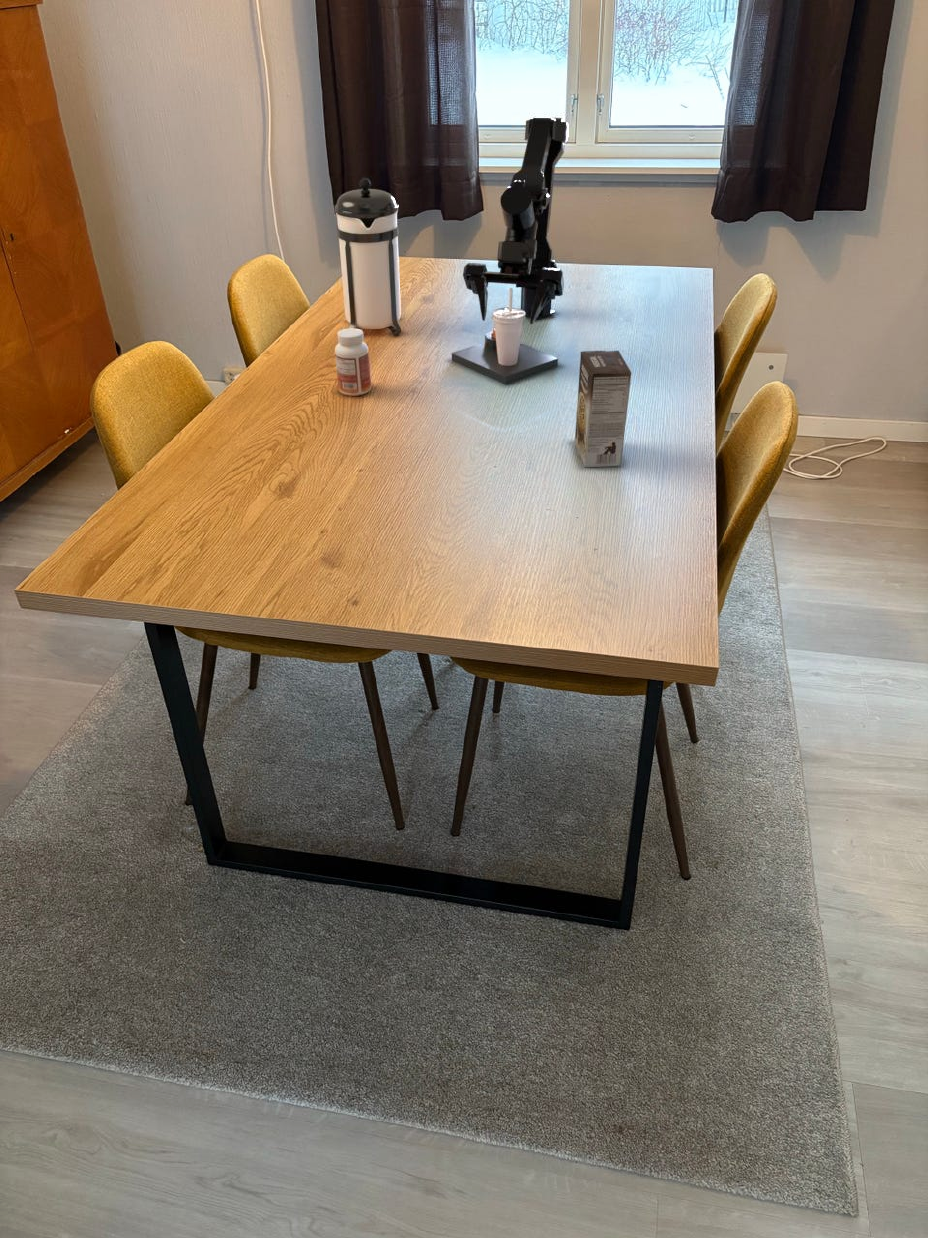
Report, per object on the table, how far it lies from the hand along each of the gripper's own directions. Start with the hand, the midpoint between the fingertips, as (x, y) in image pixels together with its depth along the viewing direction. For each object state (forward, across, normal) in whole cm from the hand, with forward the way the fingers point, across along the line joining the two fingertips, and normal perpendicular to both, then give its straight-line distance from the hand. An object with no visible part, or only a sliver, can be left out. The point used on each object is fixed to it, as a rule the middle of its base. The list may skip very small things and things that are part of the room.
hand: (507, 321), depth 177 cm
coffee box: (+29, +21, -14) cm, 39 cm away
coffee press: (-7, -34, +22) cm, 40 cm away
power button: (-3, -3, +13) cm, 13 cm away
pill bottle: (+17, -26, -2) cm, 32 cm away
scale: (+4, -1, +11) cm, 11 cm away
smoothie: (+5, 0, +7) cm, 9 cm away
